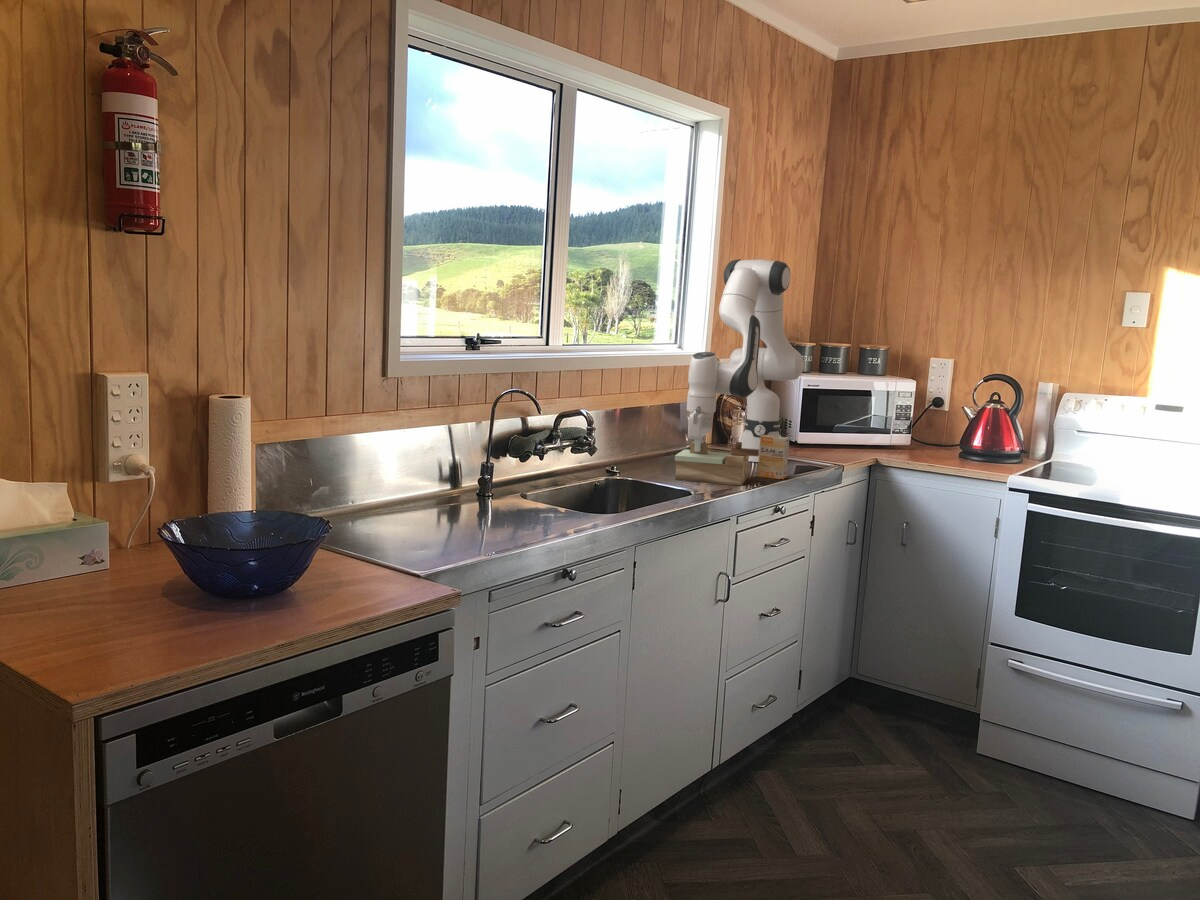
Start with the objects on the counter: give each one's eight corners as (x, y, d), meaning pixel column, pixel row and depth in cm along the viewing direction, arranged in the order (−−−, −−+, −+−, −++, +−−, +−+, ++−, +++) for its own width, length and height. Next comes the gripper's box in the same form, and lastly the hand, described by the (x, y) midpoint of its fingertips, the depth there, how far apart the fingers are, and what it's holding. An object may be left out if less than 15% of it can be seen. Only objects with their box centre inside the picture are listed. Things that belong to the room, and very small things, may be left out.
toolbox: (684, 472, 304) (685, 446, 302) (747, 478, 298) (749, 451, 297) (675, 480, 290) (676, 452, 289) (741, 485, 285) (742, 457, 284)
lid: (684, 454, 303) (684, 439, 302) (729, 457, 299) (730, 442, 298) (674, 460, 290) (675, 445, 289) (722, 464, 286) (723, 448, 285)
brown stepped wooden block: (732, 453, 290) (732, 441, 290) (758, 455, 288) (759, 443, 287) (730, 454, 288) (731, 442, 287) (757, 456, 286) (758, 444, 285)
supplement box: (757, 477, 301) (759, 435, 299) (761, 475, 305) (764, 434, 303) (782, 480, 297) (785, 438, 295) (787, 478, 301) (789, 436, 299)
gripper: (705, 409, 283) (703, 455, 285) (717, 403, 302) (714, 446, 305) (684, 408, 285) (682, 454, 287) (697, 402, 304) (695, 445, 306)
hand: (699, 450), depth 296 cm, fingers closed on lid, 3 cm apart
